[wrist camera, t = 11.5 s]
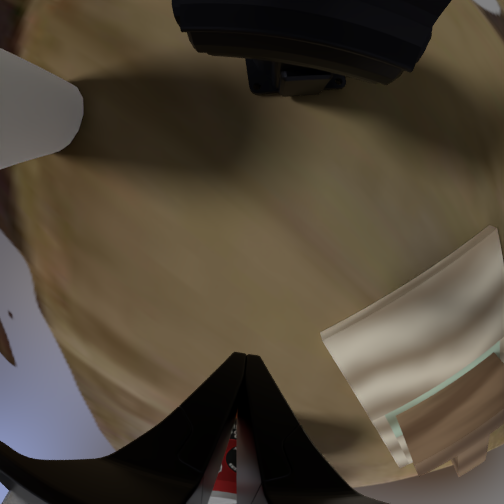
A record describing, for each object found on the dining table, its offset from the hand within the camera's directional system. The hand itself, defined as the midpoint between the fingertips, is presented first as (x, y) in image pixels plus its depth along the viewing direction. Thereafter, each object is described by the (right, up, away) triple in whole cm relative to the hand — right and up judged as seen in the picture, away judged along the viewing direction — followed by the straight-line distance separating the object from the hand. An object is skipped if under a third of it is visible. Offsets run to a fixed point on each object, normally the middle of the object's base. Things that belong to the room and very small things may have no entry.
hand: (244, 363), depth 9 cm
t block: (+24, -16, +15) cm, 33 cm away
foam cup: (-16, +15, +10) cm, 24 cm away
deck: (+21, -10, +15) cm, 28 cm away
